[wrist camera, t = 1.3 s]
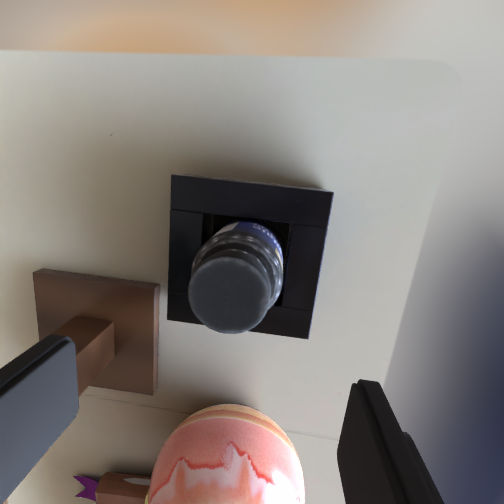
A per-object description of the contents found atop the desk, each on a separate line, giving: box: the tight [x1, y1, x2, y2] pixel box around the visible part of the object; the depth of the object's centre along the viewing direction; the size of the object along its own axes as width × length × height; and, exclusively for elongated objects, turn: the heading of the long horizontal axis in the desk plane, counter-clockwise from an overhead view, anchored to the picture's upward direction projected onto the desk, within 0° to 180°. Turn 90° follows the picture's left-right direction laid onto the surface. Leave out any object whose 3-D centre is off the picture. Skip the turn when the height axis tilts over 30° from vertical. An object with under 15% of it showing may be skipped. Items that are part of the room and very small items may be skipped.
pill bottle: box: [188, 218, 283, 334], centre depth 22 cm, size 6×6×11 cm
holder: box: [167, 174, 334, 339], centre depth 25 cm, size 12×12×4 cm
